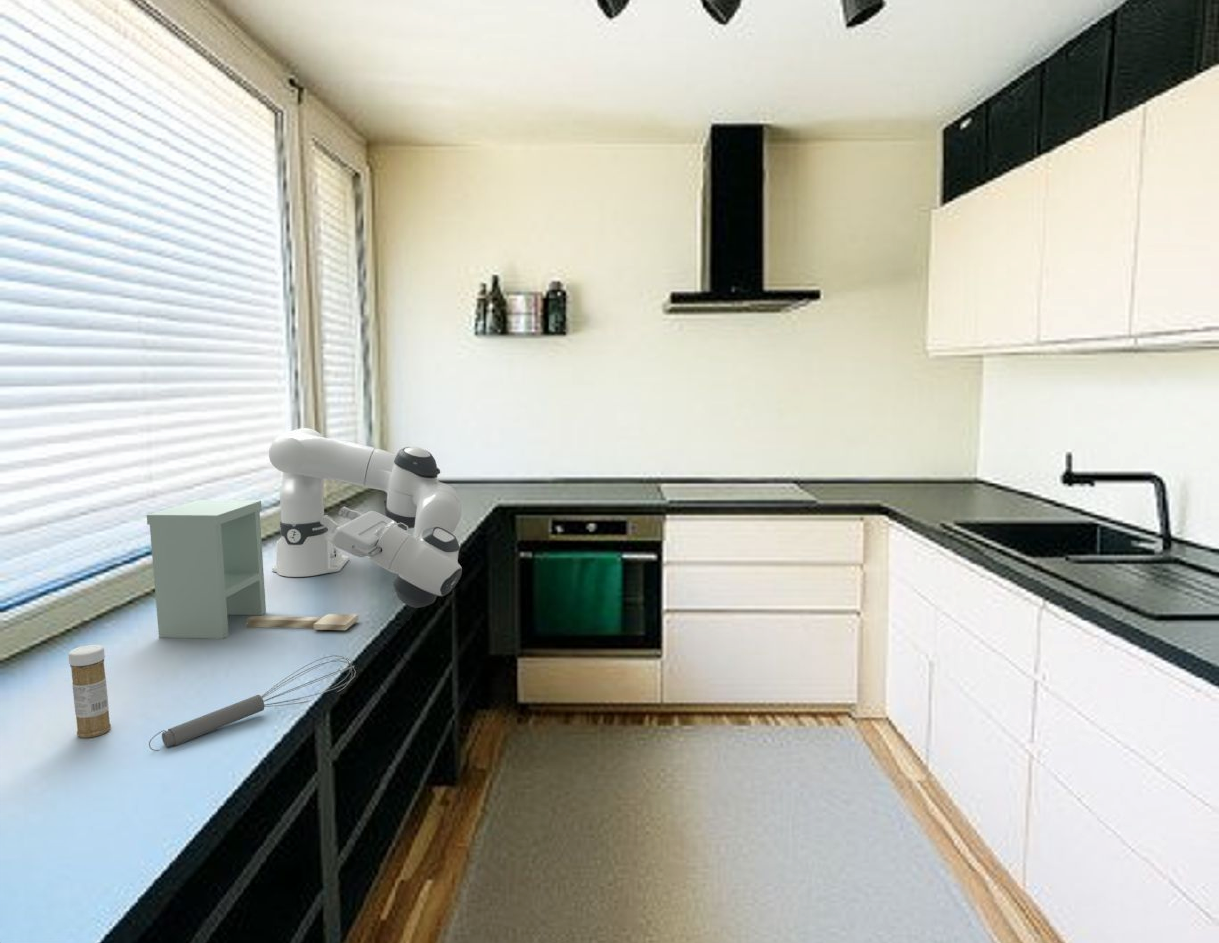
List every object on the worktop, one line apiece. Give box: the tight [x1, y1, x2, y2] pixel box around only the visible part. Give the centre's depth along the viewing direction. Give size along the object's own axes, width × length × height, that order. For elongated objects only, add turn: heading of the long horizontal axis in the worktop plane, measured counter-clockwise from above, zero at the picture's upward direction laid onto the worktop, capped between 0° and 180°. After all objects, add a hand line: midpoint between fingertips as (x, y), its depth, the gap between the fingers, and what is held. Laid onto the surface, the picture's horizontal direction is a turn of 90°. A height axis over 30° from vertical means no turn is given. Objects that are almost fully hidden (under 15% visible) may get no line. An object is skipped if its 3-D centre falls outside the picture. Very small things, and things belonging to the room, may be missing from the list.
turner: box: [246, 613, 359, 631], centre depth 176 cm, size 23×7×2 cm, turn 86°
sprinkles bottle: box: [68, 644, 112, 739], centre depth 125 cm, size 5×5×13 cm
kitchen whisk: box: [148, 654, 357, 752], centre depth 131 cm, size 6×34×6 cm, turn 140°
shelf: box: [146, 499, 267, 640], centre depth 176 cm, size 18×15×26 cm
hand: (331, 514), depth 172 cm, fingers open, 8 cm apart
